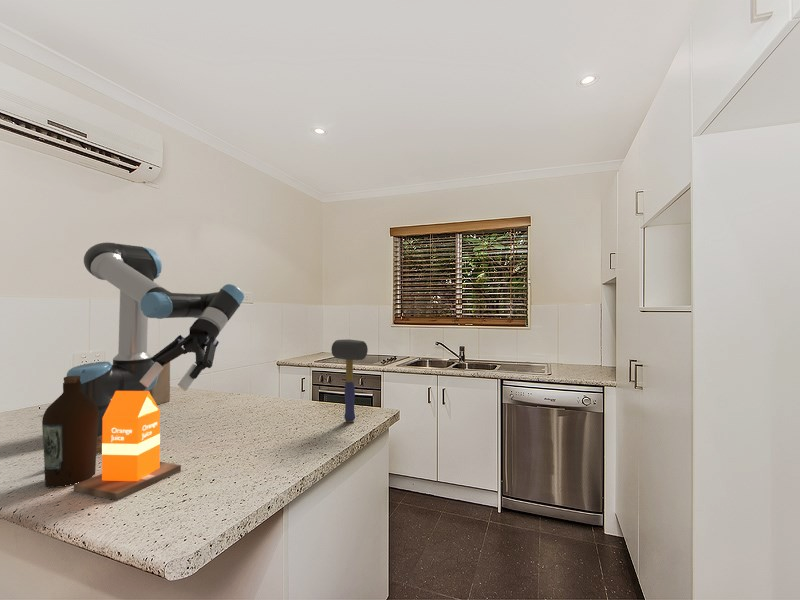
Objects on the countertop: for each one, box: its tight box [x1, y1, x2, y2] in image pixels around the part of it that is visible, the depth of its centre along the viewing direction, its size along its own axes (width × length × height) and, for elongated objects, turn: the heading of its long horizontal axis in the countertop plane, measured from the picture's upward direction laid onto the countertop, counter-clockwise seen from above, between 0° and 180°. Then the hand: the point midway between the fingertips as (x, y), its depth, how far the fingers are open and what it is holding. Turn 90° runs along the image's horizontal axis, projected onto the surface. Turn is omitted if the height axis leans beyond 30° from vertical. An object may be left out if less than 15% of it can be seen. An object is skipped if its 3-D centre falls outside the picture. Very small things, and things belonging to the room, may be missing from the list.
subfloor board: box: [73, 461, 182, 502], centre depth 93 cm, size 14×16×2 cm
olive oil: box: [41, 376, 99, 488], centre depth 95 cm, size 11×11×25 cm
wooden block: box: [149, 361, 171, 406], centre depth 170 cm, size 10×10×20 cm
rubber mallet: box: [331, 338, 369, 423], centre depth 141 cm, size 12×8×30 cm, turn 59°
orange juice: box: [101, 391, 161, 481], centre depth 93 cm, size 8×9×20 cm
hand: (162, 386), depth 101 cm, fingers open, 13 cm apart
